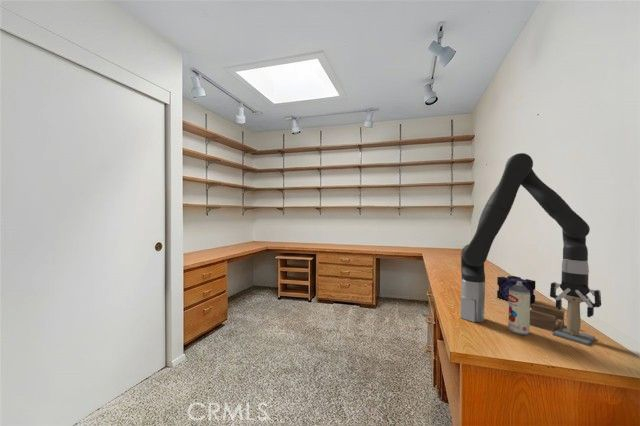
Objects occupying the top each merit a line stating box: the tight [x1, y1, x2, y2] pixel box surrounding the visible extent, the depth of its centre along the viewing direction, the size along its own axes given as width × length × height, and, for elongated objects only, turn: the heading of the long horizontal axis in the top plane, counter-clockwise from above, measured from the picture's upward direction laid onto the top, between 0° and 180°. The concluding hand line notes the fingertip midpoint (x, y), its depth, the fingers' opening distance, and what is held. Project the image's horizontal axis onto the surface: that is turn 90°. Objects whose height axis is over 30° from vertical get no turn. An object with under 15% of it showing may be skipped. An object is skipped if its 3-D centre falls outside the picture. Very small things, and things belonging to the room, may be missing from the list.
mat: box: [552, 326, 596, 346], centre depth 103 cm, size 10×10×1 cm
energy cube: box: [496, 275, 536, 305], centre depth 146 cm, size 12×12×12 cm
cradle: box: [530, 303, 565, 333], centre depth 115 cm, size 12×11×6 cm
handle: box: [562, 295, 585, 336], centre depth 103 cm, size 5×6×15 cm
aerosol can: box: [507, 281, 531, 336], centre depth 107 cm, size 7×7×20 cm
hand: (574, 313), depth 103 cm, fingers open, 8 cm apart
